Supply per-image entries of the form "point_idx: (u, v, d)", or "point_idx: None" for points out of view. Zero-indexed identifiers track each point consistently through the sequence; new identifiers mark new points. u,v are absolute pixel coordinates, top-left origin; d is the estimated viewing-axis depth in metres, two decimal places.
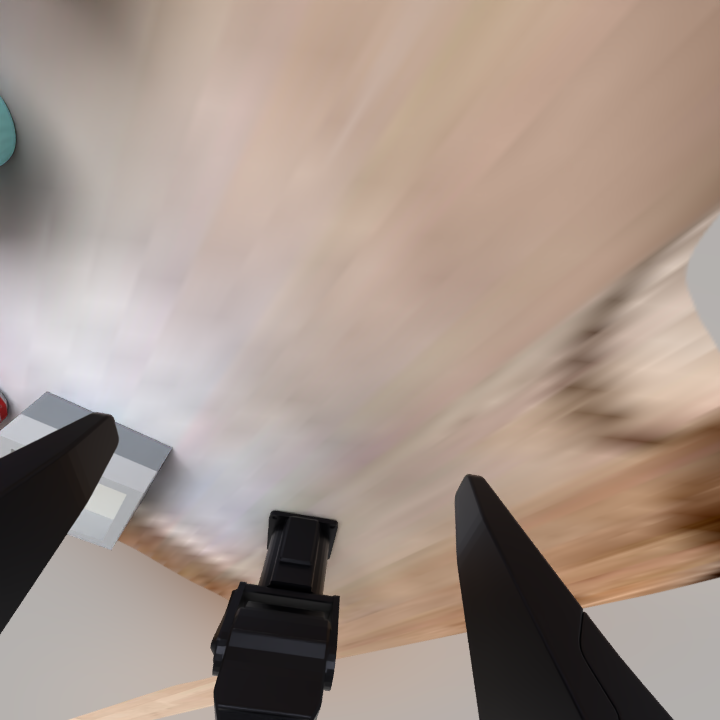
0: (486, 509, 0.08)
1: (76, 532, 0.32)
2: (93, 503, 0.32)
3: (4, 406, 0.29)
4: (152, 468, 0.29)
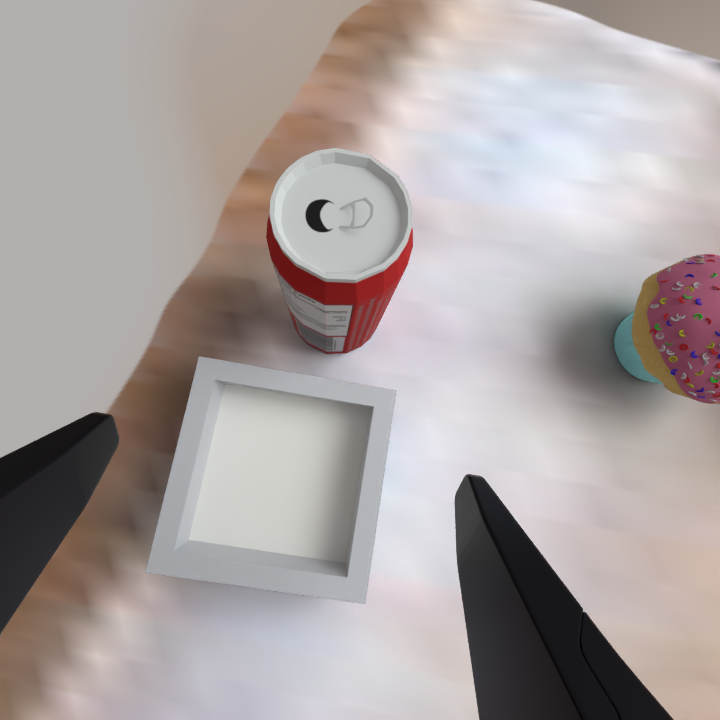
0: (486, 509, 0.08)
1: (181, 502, 0.17)
2: (227, 498, 0.19)
3: (345, 352, 0.23)
4: None
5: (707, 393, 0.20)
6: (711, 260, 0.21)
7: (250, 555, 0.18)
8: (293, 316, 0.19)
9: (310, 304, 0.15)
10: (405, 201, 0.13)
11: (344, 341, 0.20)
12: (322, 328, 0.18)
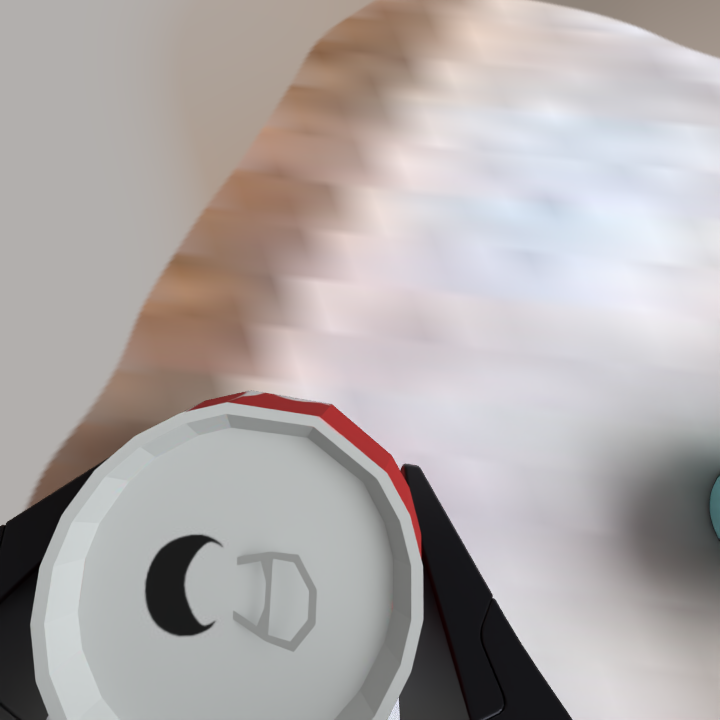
0: (415, 497, 0.08)
1: None
2: None
3: None
4: None
5: None
6: None
7: None
8: None
9: None
10: (404, 545, 0.05)
11: None
12: None
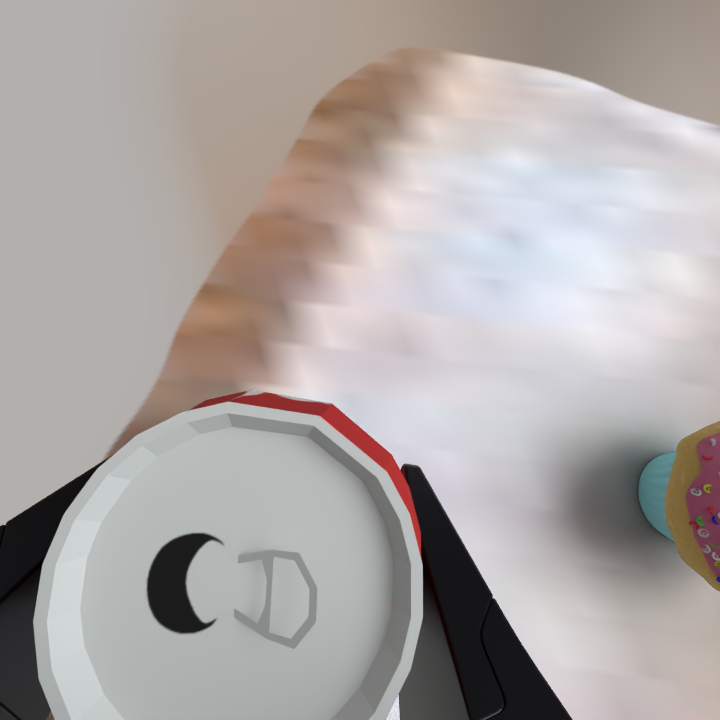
0: (415, 497, 0.08)
1: None
2: None
3: None
4: None
5: None
6: None
7: None
8: None
9: None
10: (404, 543, 0.05)
11: None
12: None
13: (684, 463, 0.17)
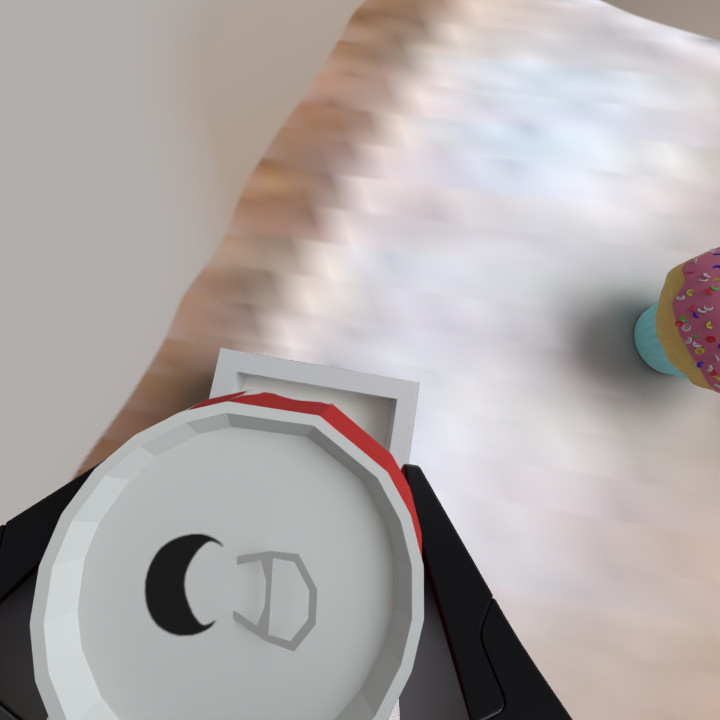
0: (415, 497, 0.08)
1: None
2: None
3: None
4: None
5: None
6: None
7: None
8: None
9: None
10: (405, 544, 0.05)
11: None
12: None
13: (671, 283, 0.21)
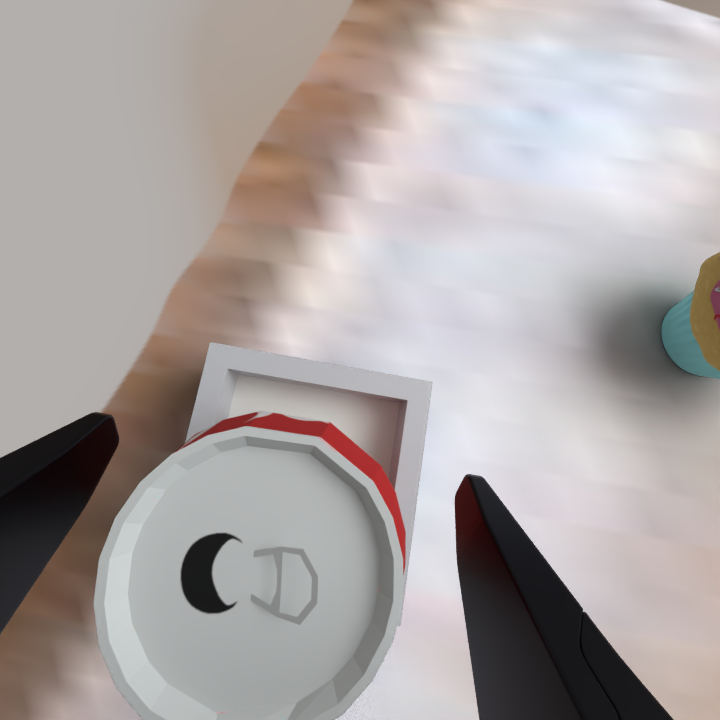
0: (486, 509, 0.08)
1: None
2: None
3: None
4: None
5: None
6: None
7: None
8: None
9: None
10: (388, 541, 0.06)
11: None
12: None
13: (708, 274, 0.19)
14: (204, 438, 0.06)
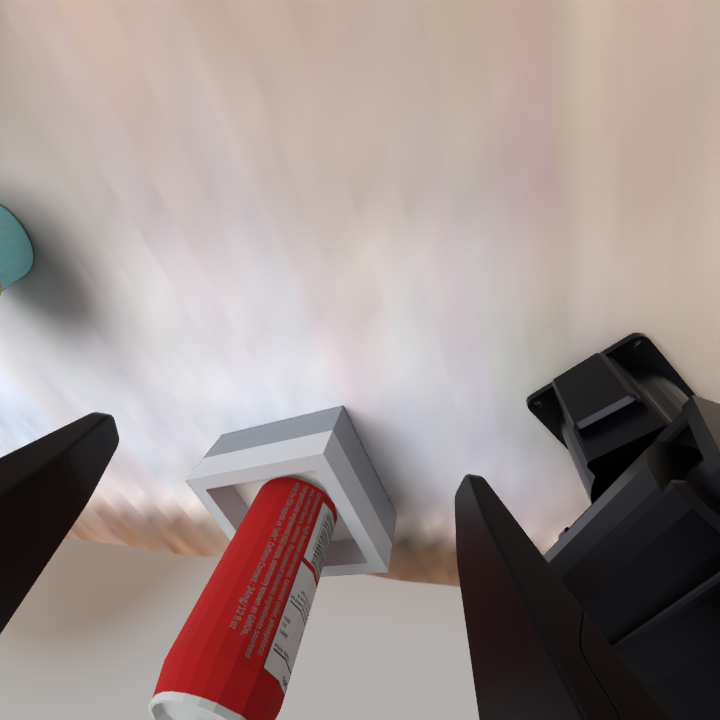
0: (486, 509, 0.08)
1: (340, 566, 0.25)
2: (336, 526, 0.26)
3: (323, 493, 0.24)
4: (326, 430, 0.22)
5: None
6: None
7: None
8: None
9: (288, 666, 0.17)
10: (158, 702, 0.15)
11: (309, 539, 0.21)
12: (306, 595, 0.19)
13: None
14: None
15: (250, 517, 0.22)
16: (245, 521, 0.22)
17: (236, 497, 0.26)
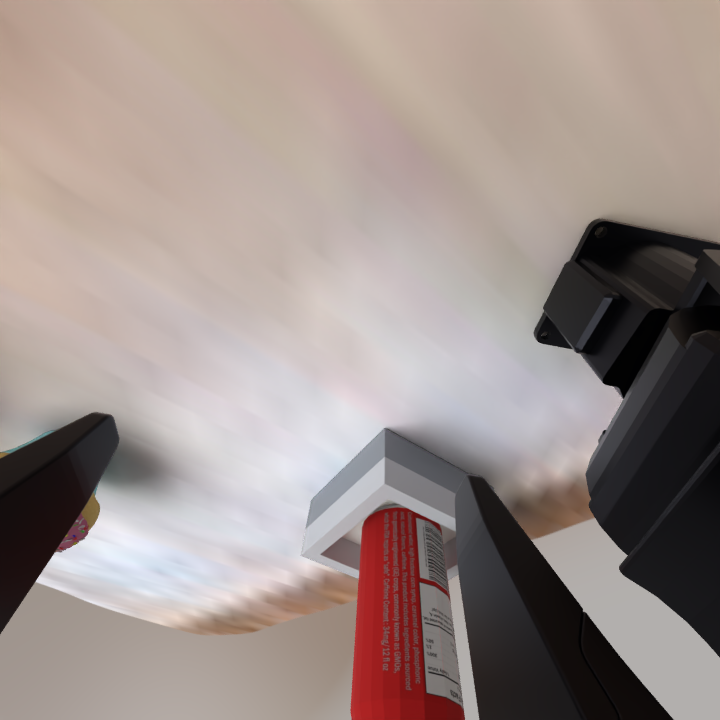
0: (486, 509, 0.08)
1: None
2: (444, 527, 0.27)
3: None
4: (380, 459, 0.24)
5: None
6: None
7: None
8: None
9: (451, 679, 0.18)
10: None
11: (418, 559, 0.22)
12: (439, 609, 0.20)
13: None
14: None
15: (362, 562, 0.24)
16: (360, 567, 0.24)
17: (350, 545, 0.28)
